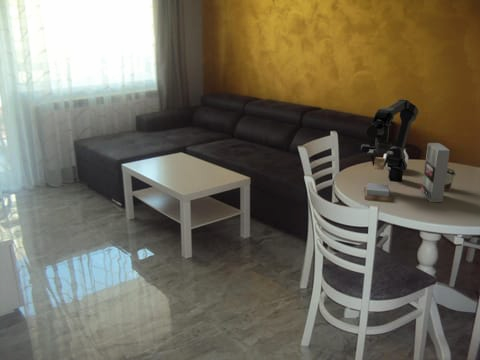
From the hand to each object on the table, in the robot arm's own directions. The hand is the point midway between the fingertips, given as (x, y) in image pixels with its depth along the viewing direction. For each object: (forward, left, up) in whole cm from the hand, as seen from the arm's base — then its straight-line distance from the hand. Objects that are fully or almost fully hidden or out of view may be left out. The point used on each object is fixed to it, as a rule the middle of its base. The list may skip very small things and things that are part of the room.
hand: (378, 166), depth 236 cm
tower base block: (0, +12, -12) cm, 17 cm away
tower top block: (+1, +12, -10) cm, 15 cm away
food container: (-32, -8, -12) cm, 35 cm away
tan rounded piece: (0, 0, -1) cm, 1 cm away
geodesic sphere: (-12, -34, -12) cm, 38 cm away
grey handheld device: (-25, +8, -12) cm, 28 cm away
